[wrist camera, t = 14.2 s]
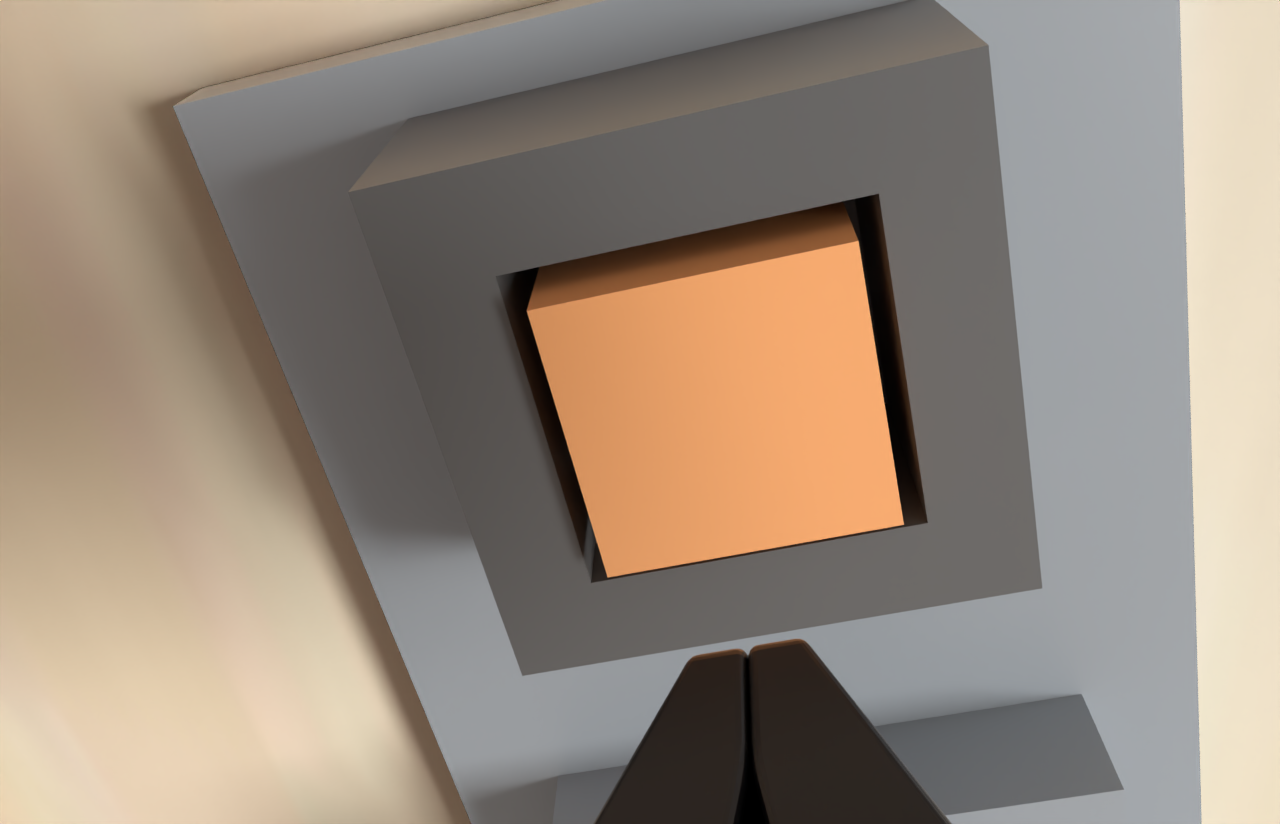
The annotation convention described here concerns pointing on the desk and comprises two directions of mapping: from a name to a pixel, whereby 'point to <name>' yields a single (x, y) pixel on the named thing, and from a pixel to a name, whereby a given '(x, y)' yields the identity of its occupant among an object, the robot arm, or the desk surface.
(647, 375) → the button
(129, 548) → the desk surface
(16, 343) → the desk surface
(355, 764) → the desk surface
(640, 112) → the gray socket fixture
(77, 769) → the desk surface
